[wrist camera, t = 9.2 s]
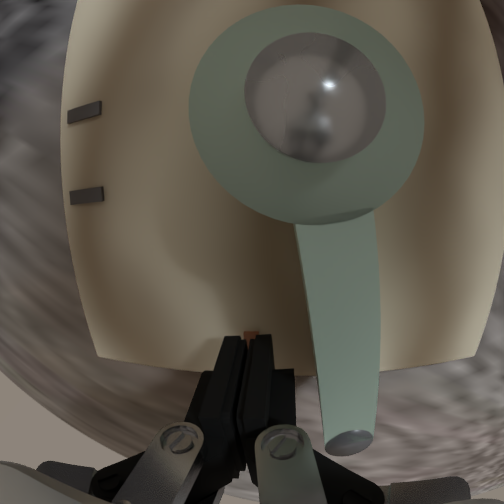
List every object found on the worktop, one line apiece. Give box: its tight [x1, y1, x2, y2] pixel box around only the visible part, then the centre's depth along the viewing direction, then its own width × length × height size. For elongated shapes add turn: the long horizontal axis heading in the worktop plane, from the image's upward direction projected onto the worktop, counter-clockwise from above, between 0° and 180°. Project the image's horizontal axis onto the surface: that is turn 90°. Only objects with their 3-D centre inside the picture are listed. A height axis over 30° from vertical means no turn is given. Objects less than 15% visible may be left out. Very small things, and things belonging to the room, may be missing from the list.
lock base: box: [60, 0, 504, 376], centre depth 10 cm, size 20×20×2 cm
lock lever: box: [189, 4, 424, 456], centre depth 7 cm, size 13×5×5 cm, turn 12°
